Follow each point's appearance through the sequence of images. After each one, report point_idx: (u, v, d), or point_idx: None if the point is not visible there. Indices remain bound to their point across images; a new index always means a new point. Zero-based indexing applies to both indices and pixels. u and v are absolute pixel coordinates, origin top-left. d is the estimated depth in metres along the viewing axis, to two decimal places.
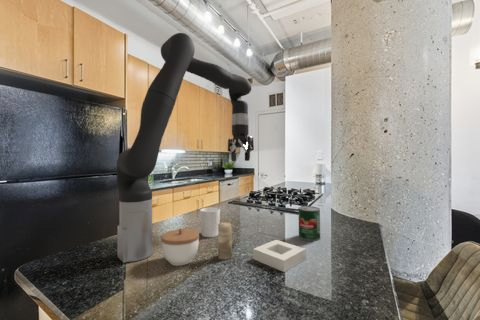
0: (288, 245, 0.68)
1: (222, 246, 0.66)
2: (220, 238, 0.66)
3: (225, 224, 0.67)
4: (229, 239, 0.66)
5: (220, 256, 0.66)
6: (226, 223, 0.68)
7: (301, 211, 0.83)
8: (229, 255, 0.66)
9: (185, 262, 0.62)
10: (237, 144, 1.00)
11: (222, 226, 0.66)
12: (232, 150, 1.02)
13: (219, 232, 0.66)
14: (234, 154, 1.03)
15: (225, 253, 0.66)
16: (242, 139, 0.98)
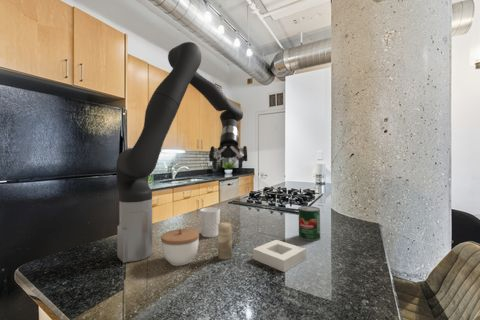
0: (288, 245, 0.68)
1: (222, 246, 0.66)
2: (220, 238, 0.66)
3: (225, 224, 0.67)
4: (229, 239, 0.66)
5: (220, 256, 0.66)
6: (226, 223, 0.68)
7: (301, 211, 0.83)
8: (229, 255, 0.66)
9: (185, 262, 0.62)
10: (226, 151, 0.84)
11: (222, 226, 0.66)
12: (217, 156, 0.82)
13: (219, 232, 0.66)
14: (217, 162, 0.82)
15: (225, 253, 0.66)
16: (235, 148, 0.85)
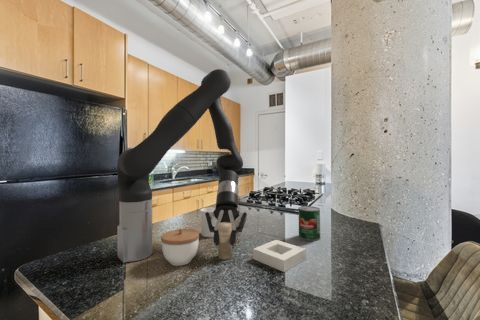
0: (288, 245, 0.68)
1: (222, 246, 0.66)
2: (220, 238, 0.66)
3: (225, 224, 0.67)
4: (229, 239, 0.66)
5: (220, 256, 0.66)
6: (227, 223, 0.68)
7: (301, 211, 0.83)
8: (229, 255, 0.66)
9: (185, 262, 0.62)
10: (225, 216, 0.71)
11: (222, 226, 0.66)
12: None
13: (219, 232, 0.66)
14: None
15: (225, 253, 0.66)
16: (234, 213, 0.72)
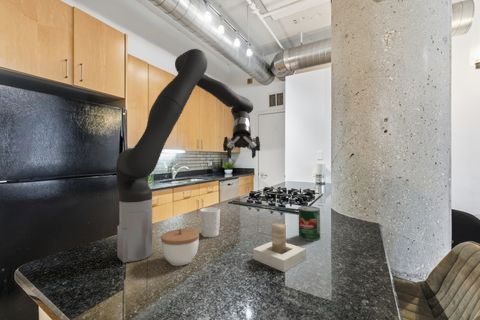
0: (288, 245, 0.68)
1: (278, 248, 0.64)
2: (275, 240, 0.64)
3: (280, 225, 0.65)
4: (284, 241, 0.65)
5: None
6: (280, 224, 0.66)
7: (301, 211, 0.83)
8: None
9: (185, 262, 0.62)
10: (240, 141, 0.87)
11: (278, 227, 0.64)
12: (231, 145, 0.85)
13: (274, 233, 0.65)
14: None
15: None
16: (248, 138, 0.88)
